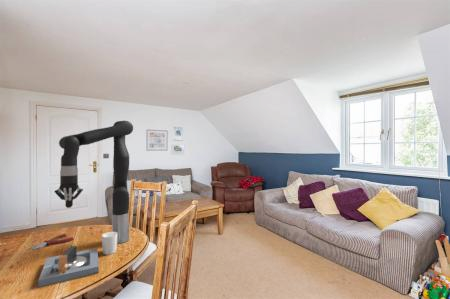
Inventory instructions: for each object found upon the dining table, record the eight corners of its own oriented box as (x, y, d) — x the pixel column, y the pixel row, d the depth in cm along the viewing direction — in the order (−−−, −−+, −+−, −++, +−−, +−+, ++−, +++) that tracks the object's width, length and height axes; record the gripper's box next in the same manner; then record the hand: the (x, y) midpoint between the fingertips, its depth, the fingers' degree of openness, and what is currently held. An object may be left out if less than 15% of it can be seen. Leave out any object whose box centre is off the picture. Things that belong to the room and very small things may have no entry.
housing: (97, 253, 125) (97, 248, 125) (98, 272, 106) (98, 266, 106) (46, 263, 114) (47, 257, 114) (38, 287, 95) (38, 279, 95)
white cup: (120, 250, 130) (120, 232, 130) (109, 256, 122) (109, 237, 122) (109, 248, 132) (109, 231, 132) (98, 254, 125) (98, 235, 125)
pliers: (26, 248, 132) (26, 244, 132) (65, 237, 149) (65, 233, 149) (34, 253, 126) (34, 248, 126) (74, 241, 143) (74, 236, 143)
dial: (63, 261, 115) (63, 243, 114) (90, 259, 117) (90, 241, 117) (45, 280, 99) (46, 258, 99) (76, 277, 101) (76, 256, 101)
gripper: (85, 173, 124) (85, 205, 124) (57, 173, 121) (57, 206, 121) (80, 174, 117) (80, 208, 117) (51, 175, 114) (50, 210, 114)
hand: (69, 207), depth 119 cm, fingers closed
